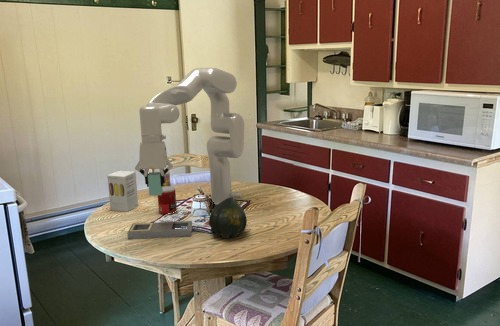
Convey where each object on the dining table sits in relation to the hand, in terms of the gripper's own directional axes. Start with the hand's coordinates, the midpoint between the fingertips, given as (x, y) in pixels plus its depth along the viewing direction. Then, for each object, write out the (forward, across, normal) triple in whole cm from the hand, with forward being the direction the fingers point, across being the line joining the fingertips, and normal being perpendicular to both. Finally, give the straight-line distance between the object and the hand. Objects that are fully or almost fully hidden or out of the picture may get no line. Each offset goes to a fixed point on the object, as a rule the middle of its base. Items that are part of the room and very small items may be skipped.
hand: (155, 185), depth 167 cm
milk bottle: (+20, +4, -53) cm, 57 cm away
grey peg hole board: (+20, -1, 0) cm, 20 cm away
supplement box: (+20, +20, -33) cm, 43 cm away
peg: (+3, 0, 0) cm, 3 cm away
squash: (+20, -27, +4) cm, 34 cm away
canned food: (+20, -1, -24) cm, 31 cm away
